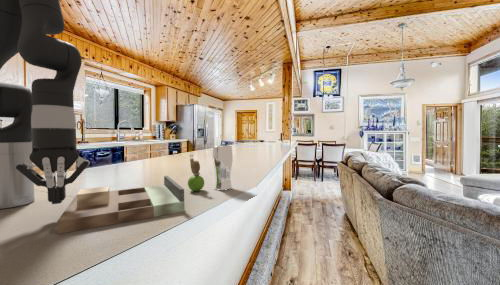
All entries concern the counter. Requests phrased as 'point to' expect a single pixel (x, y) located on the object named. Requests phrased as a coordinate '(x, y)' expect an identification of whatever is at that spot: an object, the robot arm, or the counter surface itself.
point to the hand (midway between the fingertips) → (57, 202)
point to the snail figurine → (195, 176)
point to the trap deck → (124, 207)
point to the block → (93, 196)
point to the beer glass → (222, 166)
